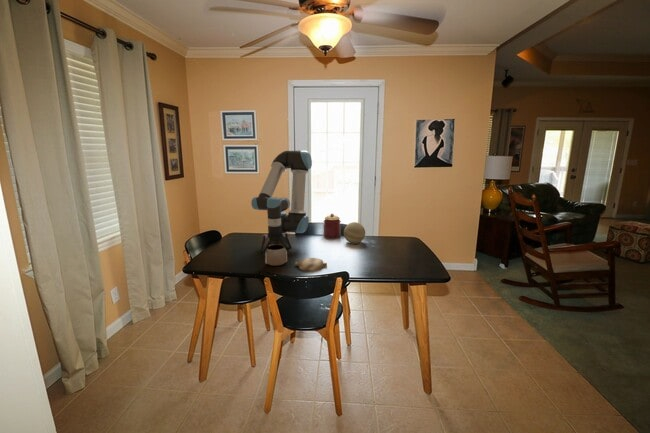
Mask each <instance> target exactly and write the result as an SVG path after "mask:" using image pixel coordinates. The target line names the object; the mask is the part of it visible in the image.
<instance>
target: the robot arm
mask: <svg viewBox="0 0 650 433" xmlns="http://www.w3.org/2000/svg"><path fill="white" fill-rule="evenodd" d="M312 161H313V160H312V156H311V154H310V152H309V151H307V150H285V151H282V152H280V153H279V154H278V155H277V156H276V157H274V159H273V161H272V162H271V164H270V167H271V168H270V170H269V173H268V174H267V177H266V180H265V182H264V184H263V186H262V188H261V190H260V193H259V194H258V196H255V197H253V198H252V199H251V203H250V205H251V207H252V209H253V210H257V211H258V210H259V211H266V212H267V234H262V240H261V243H260V247H259V252H260V253H262V256H263V257H262V258H263V259H264V260H265V261H264V262H265V263H264V264H267V252H266V250H267V248H268V247H269V245H272V244H281V245H283V246H284V247H285V256H286V262H288V256H289V254H290V250H292V249H293V248H292V244H291V243H290V239H289V237H288V233H296V234H303V233H305V232H306V231H307V229H308V226H309V223H310V219H309V216H308V215H307V212H306V211H305V196H306V195H305V193H306V178H307V177H306V176H307V174H308V173H309V170H310V169H311V168H312V166H313V164H312V163H313V162H312ZM287 169H290V172H291V173H292V181H291V183H292V186H291V200H290V199H288V197H284V196H283V197H277V196H275V197H273V196H274V193H275V191H276V188H277V185H278V184H279V181H280V180H281V176H282V174H283V173H285V171H286V170H287ZM290 201H291V202H290ZM289 208H290V210H289V211H288V214H287V212H286V210H288V209H289ZM267 238H268V240H267V243H266V239H267ZM264 245H265V246H264ZM267 265H268V264H267Z"/></svg>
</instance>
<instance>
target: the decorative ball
mask: <svg viewBox="0 0 650 433" xmlns="http://www.w3.org/2000/svg"><path fill="white" fill-rule="evenodd" d="M343 236H344V238H345V240H346V241H347V242H348V243H349V244H353V245H355V244H356V245H357V244H360V243H361V242H362V241H363V240H364V239H365V236H366V228H365V227H364V225H362V223H360V222H356V221H355V222H349V223H348V224H347V225H346V226H345V228H344V229H343Z"/></svg>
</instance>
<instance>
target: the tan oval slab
mask: <svg viewBox="0 0 650 433" xmlns="http://www.w3.org/2000/svg"><path fill="white" fill-rule="evenodd" d="M294 266H295V267H298V269H299V270H301V271H304V272H316V271H320V270H322V269H323V268H324V267H325V268H326V267H328V263H327V262H324V260H323V259H320V258H317V257H306V258H303V259H300V260H299V261H295V263H294Z"/></svg>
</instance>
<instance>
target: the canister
mask: <svg viewBox="0 0 650 433" xmlns="http://www.w3.org/2000/svg"><path fill="white" fill-rule="evenodd" d="M340 219H341V218H340V217H339V216H337V215H335V214H334V213H330V214H329V215H327V216H325V217H324V220H323V237H324V238H326V239H339V238H340V237H341V235H342V234H341V222H342V221H341V220H340Z"/></svg>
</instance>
